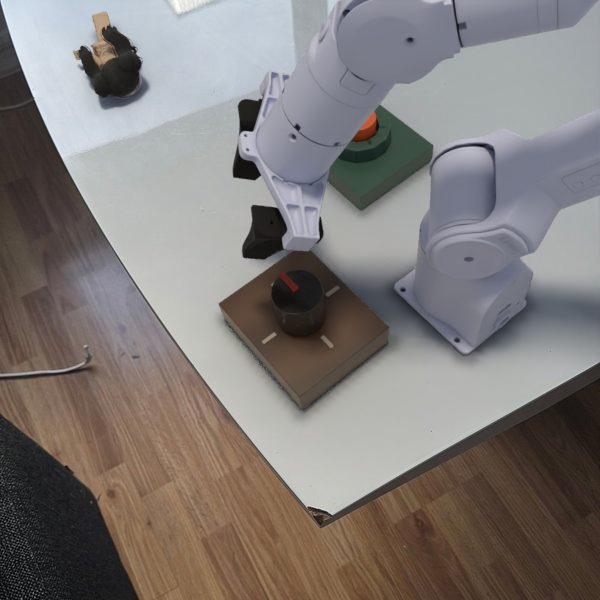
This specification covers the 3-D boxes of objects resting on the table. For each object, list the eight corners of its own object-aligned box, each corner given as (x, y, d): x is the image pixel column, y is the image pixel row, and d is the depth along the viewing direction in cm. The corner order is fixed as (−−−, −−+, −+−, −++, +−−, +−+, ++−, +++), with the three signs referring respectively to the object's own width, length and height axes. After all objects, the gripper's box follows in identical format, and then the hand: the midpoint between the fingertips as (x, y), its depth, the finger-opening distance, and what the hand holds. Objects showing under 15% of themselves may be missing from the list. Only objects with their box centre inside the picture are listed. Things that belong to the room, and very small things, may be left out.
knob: (336, 316, 58) (333, 291, 54) (297, 346, 57) (292, 322, 53) (305, 284, 60) (300, 258, 56) (267, 312, 59) (259, 287, 55)
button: (383, 129, 68) (383, 117, 66) (356, 147, 67) (356, 135, 66) (360, 111, 70) (360, 99, 68) (334, 129, 69) (333, 116, 67)
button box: (432, 159, 70) (435, 132, 66) (360, 210, 67) (360, 185, 64) (358, 102, 75) (357, 74, 72) (289, 147, 73) (285, 120, 69)
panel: (388, 342, 60) (389, 326, 57) (302, 410, 57) (299, 396, 54) (306, 260, 65) (303, 241, 62) (224, 319, 62) (217, 302, 60)
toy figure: (67, 48, 86) (102, 113, 78) (52, 2, 81) (88, 67, 73) (120, 33, 88) (159, 95, 80) (108, -13, 82) (149, 48, 75)
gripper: (252, 16, 45) (195, 136, 56) (279, 197, 40) (210, 290, 51) (341, 38, 48) (271, 148, 59) (378, 209, 43) (293, 294, 54)
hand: (248, 214), depth 55 cm, fingers open, 7 cm apart
